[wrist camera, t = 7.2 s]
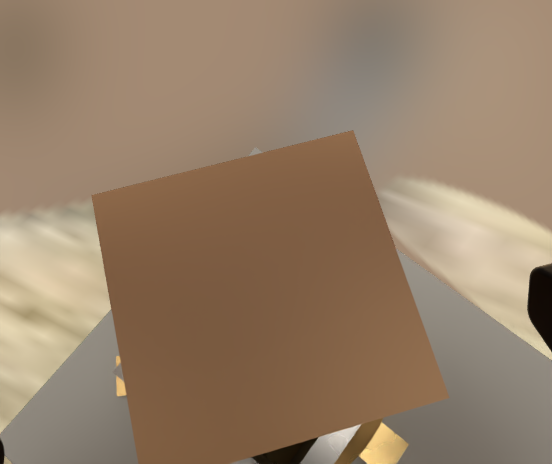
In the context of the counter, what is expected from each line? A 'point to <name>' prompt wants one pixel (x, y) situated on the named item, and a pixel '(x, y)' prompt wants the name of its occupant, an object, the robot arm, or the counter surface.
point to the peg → (260, 305)
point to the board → (408, 425)
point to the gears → (326, 443)
